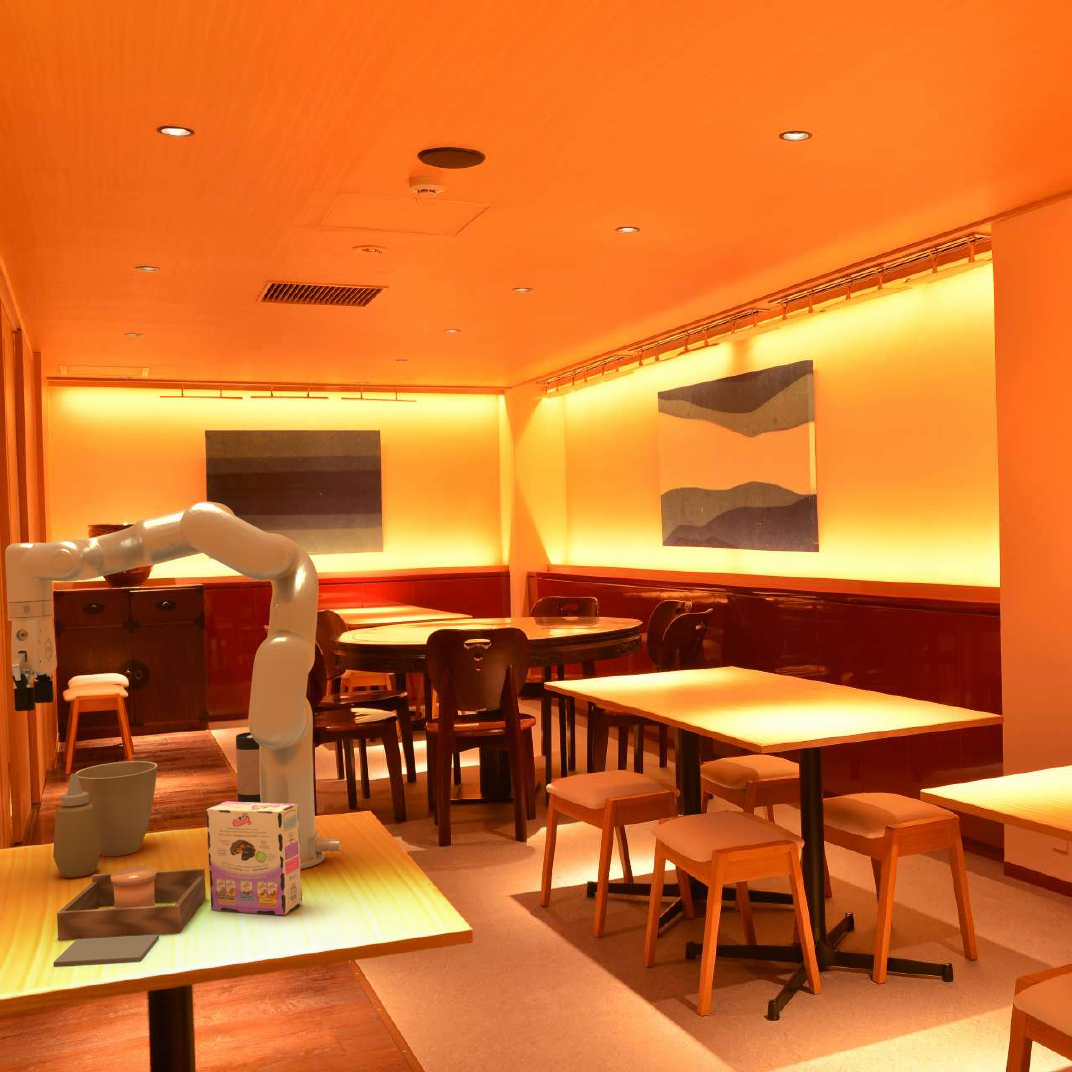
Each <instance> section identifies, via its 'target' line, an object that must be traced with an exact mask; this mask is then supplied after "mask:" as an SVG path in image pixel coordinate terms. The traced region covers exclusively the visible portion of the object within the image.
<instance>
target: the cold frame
mask: <svg viewBox="0 0 1072 1072" xmlns="http://www.w3.org/2000/svg"><path fill="white" fill-rule="evenodd" d="M205 870H206V869H205V868H195V869H194V868H193V869H191V868H190V869H172V870H171V869H170V870H156V873H157V877H156V878H155V879H154V889H155V904H164V903H165V904H166V903H175V904H168V905H167V904H166V905H155V906H147V907H129V908H115V904H114V885H112V884H111V874H112V873H99V874H93V875H91V879H92V882H91V883H90V884H89V885H87V886H86V887H85V888H84V889H83V890H82V891H80V892H79V893H78V894H76V896H75V897H74V898H73V899H71V900H70V901H69V902H68V903H67V904H66V905H64V906H63V907H62V908H61V909H60V910H59V911H58V912H56V920H57V921H56V924H57V926H56V927H57V940H58V941H61V940H62V941H63V940H77V939H90V938H107V937H125V936H142V935H165V934H166V935H167V934H180V933H181V932H182V931H183V929H184V928H185V926H186V925H188V923H189V921H190V920H191V919H192V918H193V917H194V915H195V913H197V911H198V910H199V908H200V907H201V906H202V904H203V903H204V902H205V901H206V899H207V893H206V892H207V891H206V871H205ZM108 906H110V907H111V906H112V907H113V906H114V907H113V908H98V907H108ZM97 908H98V909H97Z"/></svg>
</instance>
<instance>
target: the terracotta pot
mask: <svg viewBox="0 0 1072 1072" xmlns="http://www.w3.org/2000/svg"><path fill="white" fill-rule="evenodd" d="M156 871H157V869H156V868H155V867H152V866H133V867H128V868H124V869H123V868H122V869H120V870H116V871H114V872H113V873H110V874H111V884H112V885H114V904H115V905H114V908H129V907H147V906H156V903H155V889H154V879H155V878H156V877H157V873H156Z"/></svg>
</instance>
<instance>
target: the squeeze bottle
mask: <svg viewBox="0 0 1072 1072" xmlns="http://www.w3.org/2000/svg"><path fill="white" fill-rule="evenodd" d="M67 786H68V787H67V791H66V793H64V794H62V795H61V796H60V803H61V804H60V805H61V806H60V807H58V808H57V809H56V811H55V822H54V838H53V849H52V851H53V853H52V855H53V856H52V858H53V860H54V862H55V864H56V865H55V866H56V867H57V869H58V870H57V871H58V872H59V874H60V877H62V878H70V879H71V878H82V877H85V876H89V875H91V874H94V872H95V871H96V870H97V868H98V867H97V866H98V864H99V859H100V857H101V854H100V853H101V847H100V840H99V833H98V826H97V820H96V813H95V807H94V806H93V805H92V804H89V803H88V802H89V793H88V792H82V789H81V785H80V781H79V778H78V774H76V773H71V774H70V776H69V780H68V785H67Z"/></svg>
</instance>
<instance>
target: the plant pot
mask: <svg viewBox="0 0 1072 1072" xmlns="http://www.w3.org/2000/svg"><path fill="white" fill-rule="evenodd" d="M157 772H158V764H157V763H156V762H152V761H142V760H141V761H140V760H138V761H137V760H134V761H133V760H132V761H118V762H117V761H116V762H110V763H104V764H99V765H98V764H97V765H94V766H89V767H86V768H83V769H80V770H78V771H76V772H75V774H78V778H79V781H80V785H81V789H82V792H88V793H89V802H88V803H89V804H92V805H93V806H94V807H95V813H96V820H97V826H98V833H99V840H100V847H101V853H100V856H104V857H121V856H125V855H131V854H133V853H137V852H139V851H140V850H141V848H142V846H143V843H144V839H145V836H146V832H147V829H148V826H149V821H150V817H151V814H152V808H153V803H154V797H155V791H156V782H157Z"/></svg>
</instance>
